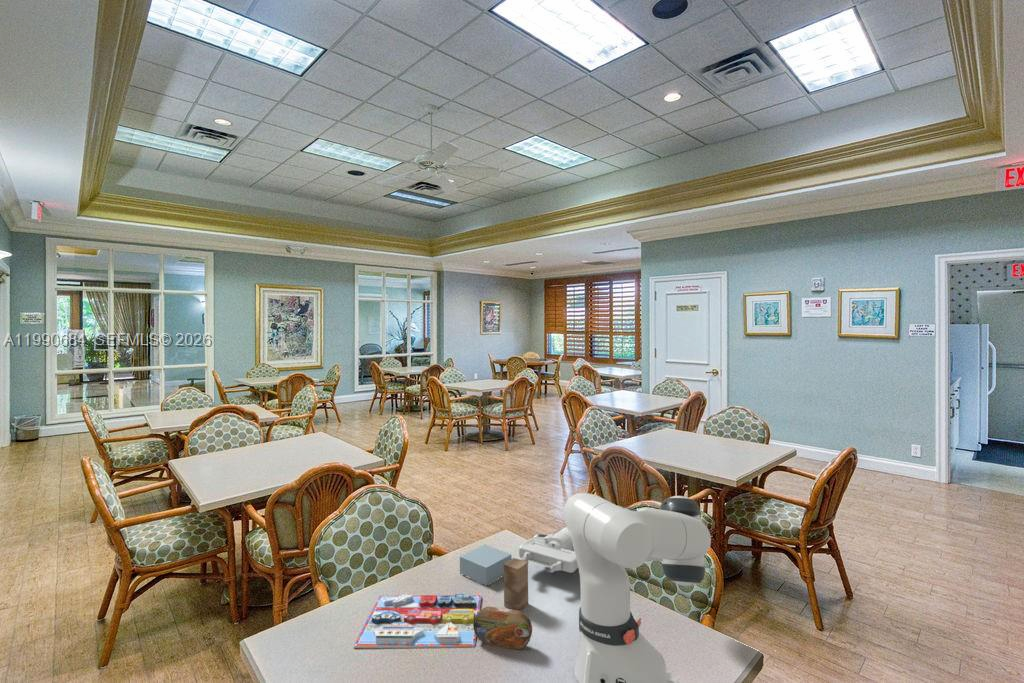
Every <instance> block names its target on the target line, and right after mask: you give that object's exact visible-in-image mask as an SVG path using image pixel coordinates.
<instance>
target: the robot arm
mask: <svg viewBox="0 0 1024 683" xmlns="http://www.w3.org/2000/svg"><path fill="white" fill-rule="evenodd" d="M701 515H702V512H701V509H700V507H699V504H698V503H697V502H696V501H695V500H694V499H693V498H689V497H686V496H684V495H673V496H670V497H668V498H664V500H663V501H662V502H661V504H660V508H653V507H641V508H639V509H635V508H632V507H627V506H623V505H618V504H617V505H616V504H615V503H613V502H611V501H609V500H607V499H605V498H603V497H601V496H599V495H597V494H592V493H589V492H577V493H575V494H572V495H571V496H570V497H569V498H567V500H566V502H565V504H564V506H563V509H562V518H563V522H564V523H565V527H563V528H562V529H560V530H559V532H556V533H550V534H541V533H539V534H538V533H537V534H535V535H534V536H533V538H529V539H527V540H525V541H524V542H522V543H521V544H520V545H519V547H518V556H519V559H520V560H522V561H526V562H528V563H529V561H530V562H533V563H537V564H540V565H543V566H546V567H547V568H546V569H547V572H548V573H551V574H552V573H554V572H556V571H557V572H558V571H564V572H566V573H572V574H573V573H575V572H576V570H577V569H578V573H579V584H580V607H579V610H578V629H579V633H580V636H579V645H578V646H579V647H578V651H577V653H578V654H577V658H576V661H575V666H574V669H573V671H574V676H575V679H576V681H577V683H678V679H677V678H676V676H674V675H673V674H672V673H670V672H668V670H667V665H666V663H665V658H664V657H663V654H662V653H661V651H659V650H658V649H657V648H656V647H655V646H654V645H653V644H652V643H651V642H650V641H649V640H648V639H647V638H646V637H645V636H644V635H643V634H642V632H640V626H641V625H642V618H641V617H640V618H638V620H637V621H636V620H635V618H634V616H633V613H632V611H631V582H630V577H629V575H628V572H627V570H626V569H637V568H639V567H641V566H643V565H644V564H645V563H646V562H647V561H653V562H662V564H661V566H662V570H663V573H664V576H665V578H667V580H668V581H670V582H672V583H674V584H676V585H679V586H682V587H683V586H684V587H690V586H694V585H697V584H700V583H702V581H703V580H704V579H705V574H706V567H705V555H707V554H708V552H709V550H710V549H711V544H712V536H711V533H710V530H709V529H708V527H707V525H706V524H705V523H704V522H703V521H702V518H701Z"/></svg>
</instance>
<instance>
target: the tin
mask: <svg viewBox="0 0 1024 683" xmlns="http://www.w3.org/2000/svg"><path fill="white" fill-rule="evenodd" d="M532 624H533V623H532V622H531V620H530V617H529V616H528V615H527V614H525V613H524V612H523V611H522V610H520V611H518V610H512V609H510V608H504V607H503V608H502V607H495V606H486V607H485V606H484V607H483V608H481V609H480V612H479V613H478V614H477V615H476V617H475V619H474V622H473V627H474V632H475V634H476V638H477V639H478V640H479V641H480V642H482V643H483V644H484V645H489V646H494V647H500V648H505V649H512V650H521V649H523V648H526V646H528V645H529V643H530V640H531V637H532V635H533V625H532Z"/></svg>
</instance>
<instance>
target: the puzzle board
mask: <svg viewBox="0 0 1024 683" xmlns="http://www.w3.org/2000/svg"><path fill="white" fill-rule="evenodd" d="M481 604H482V595H481V594H476V595H474V594H464V593H455V594H454V595H451V594H450V595H449V594H447V595H444V594H443V595H441V594H439V595H437V594H421V595H412V594H410V593H409V594H408V593H407V594H402V595H401V594H399V595H396V594H393V595H391V594H390V595H389V594H388V595H387V594H385V595H379V596H378V597H377V599H376V601H375V603H374V605H373V608H371V611H370V613H369V615H368V616H367V619H366V620H365V622H364V625H363V627H362V628H361V631H360V632H359V635H358V636H357V638H356V640H355V642H354V644H353V649H355V648H358V650H359V649H422V648H423V649H424V648H425V649H431V648H432V649H433V648H434V649H435V648H437V649H440V648H442V649H444V648H475V647H476V643H477V642H476V641H477V636H476V634H475V632H474V627H473V622H474V619H475V617H476V615H477V614H478V613H479V612H480V611H481Z"/></svg>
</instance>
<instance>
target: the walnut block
mask: <svg viewBox="0 0 1024 683" xmlns="http://www.w3.org/2000/svg"><path fill="white" fill-rule="evenodd" d="M527 605H529V561H528V562H526V561H522V560H521V559H520V558H515V557H513V558H512V559H511V560H510V561H508V562H507V563H505V564H504V576H503V606H504V607H505V608H506V609H511V610H518V611H522V610H523V609H524V608H525V607H526V606H527Z"/></svg>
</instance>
